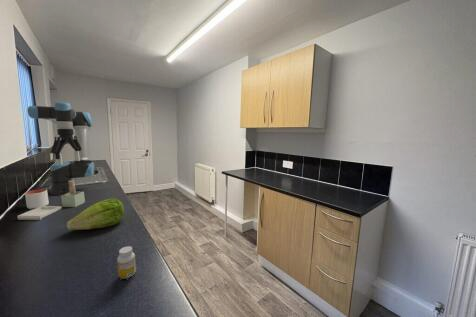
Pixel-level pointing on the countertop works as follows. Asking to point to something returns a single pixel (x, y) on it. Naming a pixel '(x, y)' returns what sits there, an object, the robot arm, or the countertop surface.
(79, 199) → the pen pot
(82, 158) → the robot arm
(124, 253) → the supplement bottle
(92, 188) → the countertop surface
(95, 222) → the lettuce
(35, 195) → the cup
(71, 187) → the dowel
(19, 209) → the countertop surface
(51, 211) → the dish
